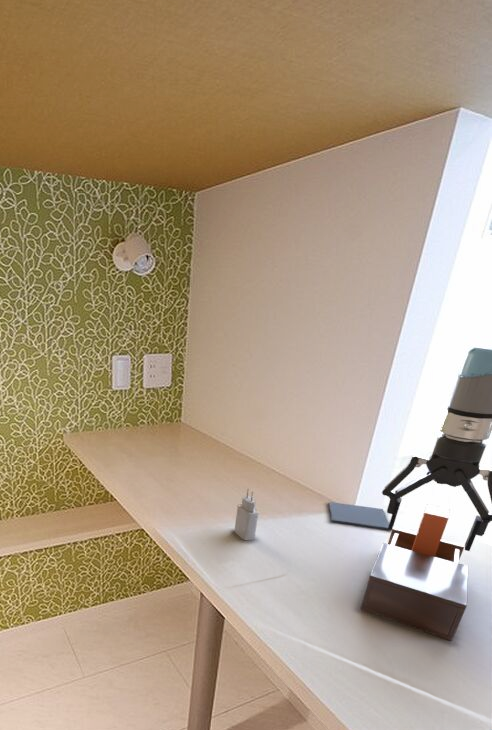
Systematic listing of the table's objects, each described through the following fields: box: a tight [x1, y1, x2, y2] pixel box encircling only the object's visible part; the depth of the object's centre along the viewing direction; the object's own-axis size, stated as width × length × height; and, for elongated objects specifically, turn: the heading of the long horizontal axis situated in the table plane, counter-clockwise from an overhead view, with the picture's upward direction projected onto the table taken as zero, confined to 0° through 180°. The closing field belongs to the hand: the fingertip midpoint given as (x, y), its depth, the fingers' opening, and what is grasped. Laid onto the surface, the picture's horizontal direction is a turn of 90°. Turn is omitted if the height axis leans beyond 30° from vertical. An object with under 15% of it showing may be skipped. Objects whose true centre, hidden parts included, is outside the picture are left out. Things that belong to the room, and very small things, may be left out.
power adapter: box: [234, 488, 259, 541], centre depth 105 cm, size 3×5×12 cm, turn 20°
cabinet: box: [360, 542, 469, 642], centre depth 82 cm, size 15×15×8 cm
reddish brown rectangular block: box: [412, 504, 451, 557], centre depth 89 cm, size 5×4×13 cm
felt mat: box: [328, 501, 390, 531], centre depth 117 cm, size 14×12×1 cm
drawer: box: [387, 526, 465, 564], centre depth 92 cm, size 18×13×6 cm
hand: (427, 537), depth 89 cm, fingers open, 13 cm apart
